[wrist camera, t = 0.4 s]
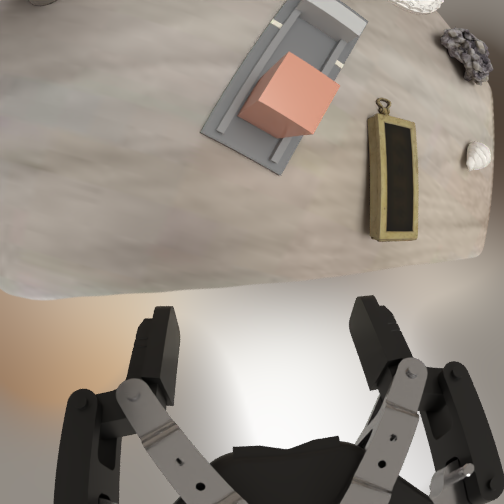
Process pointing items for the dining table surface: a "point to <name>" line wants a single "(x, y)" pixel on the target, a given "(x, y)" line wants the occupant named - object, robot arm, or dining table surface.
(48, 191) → the dining table surface
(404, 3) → the medallion
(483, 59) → the mineral specimen
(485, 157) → the white seashell
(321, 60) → the grey slide track
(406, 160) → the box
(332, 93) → the salmon rectangular block
